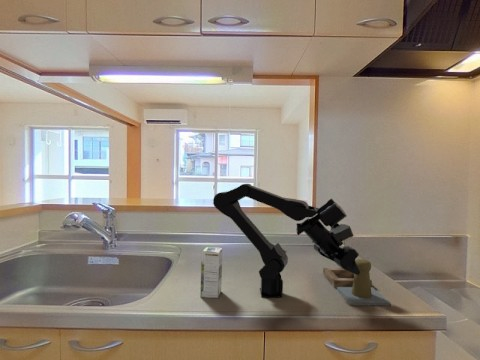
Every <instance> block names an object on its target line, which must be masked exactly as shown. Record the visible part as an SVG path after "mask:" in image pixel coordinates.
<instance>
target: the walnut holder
mask: <svg viewBox="0 0 480 360" xmlns="http://www.w3.org/2000/svg"><path fill="white" fill-rule="evenodd" d="M322 269H323V270H322V275H323V276H324V278H326V280H327V281H328V282H329V283H330V285H331V286H332V287H333V288H336V289H337V287H352V286H353V281H354V275H355V274H354V273H352V272H349V271H347V270H344V269H342V268H341V267H323V268H322ZM347 277H349V278H347ZM372 283H373V280H372V279H370V284H371V287H373V284H372Z"/></svg>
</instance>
